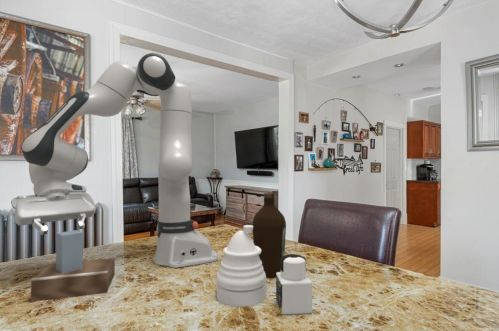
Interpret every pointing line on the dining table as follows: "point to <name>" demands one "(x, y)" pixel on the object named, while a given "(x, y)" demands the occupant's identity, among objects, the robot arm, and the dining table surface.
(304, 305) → the medicine bottle
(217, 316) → the dining table surface
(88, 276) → the dock
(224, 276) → the honey pot
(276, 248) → the olive oil
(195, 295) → the dining table surface
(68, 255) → the blue-grey rectangular block
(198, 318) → the dining table surface
